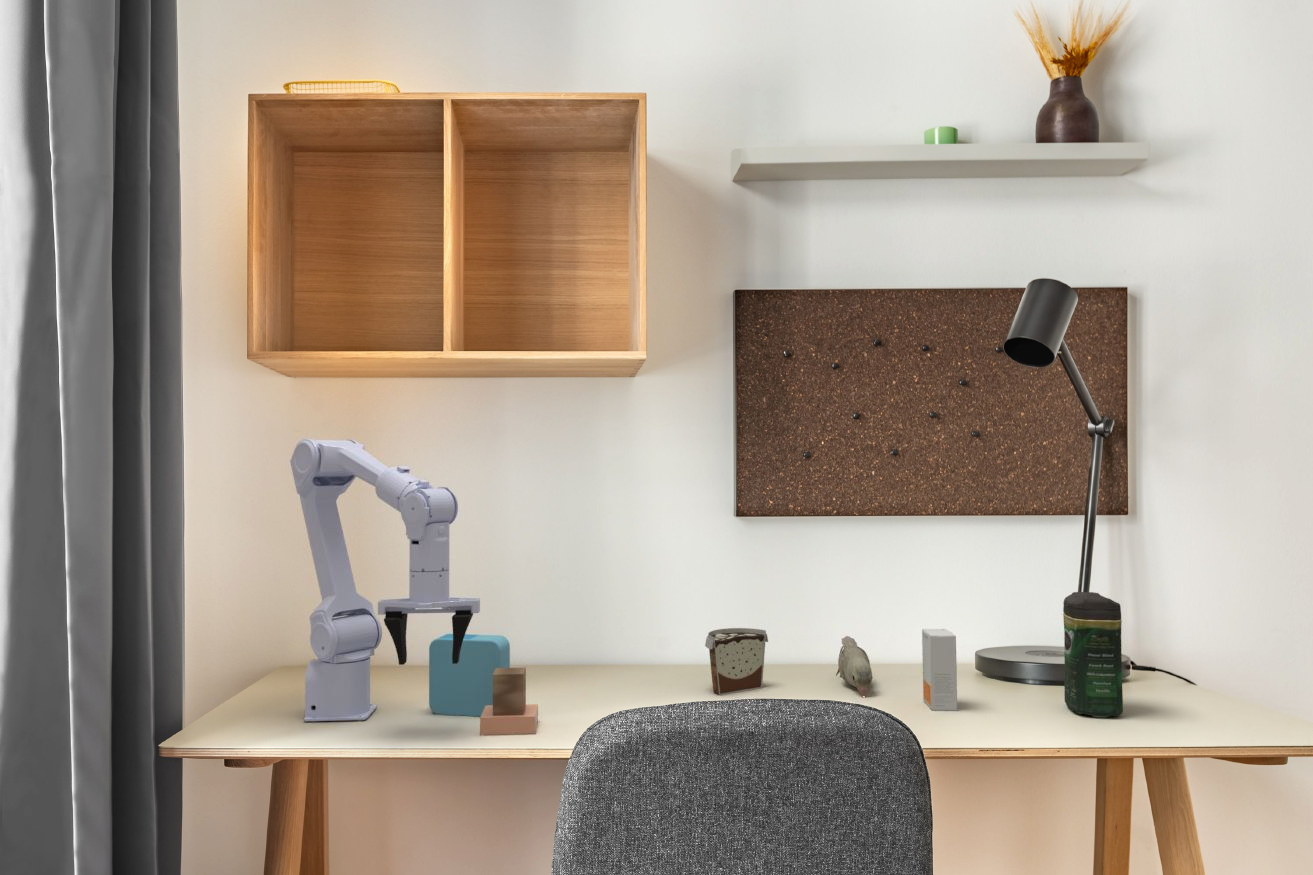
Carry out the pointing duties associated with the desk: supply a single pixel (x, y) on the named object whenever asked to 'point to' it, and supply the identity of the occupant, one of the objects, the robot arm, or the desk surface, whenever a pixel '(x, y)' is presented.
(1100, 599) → the coffee jar
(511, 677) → the walnut block
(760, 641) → the food container
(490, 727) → the terracotta plinth
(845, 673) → the decorative bird
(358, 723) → the desk surface
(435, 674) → the teal rounded block
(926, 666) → the skincare box
